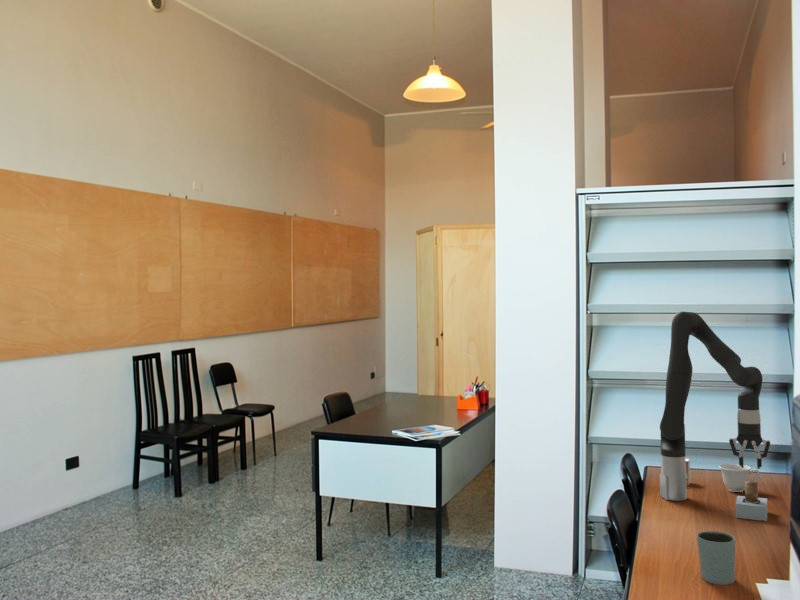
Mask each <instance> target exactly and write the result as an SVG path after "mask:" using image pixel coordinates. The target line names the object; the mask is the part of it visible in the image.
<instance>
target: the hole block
mask: <svg viewBox="0 0 800 600" xmlns="http://www.w3.org/2000/svg"><path fill="white" fill-rule="evenodd" d="M768 506H769V505H768V497H767V498H766V497H758V504H755V503H745V495H737V496H736V499H735V518H736V519H744V520H755V521H762V520H764V521H763V522H767V521H768V515H767V514H768V513H769V512H768V511H769V510H768Z"/></svg>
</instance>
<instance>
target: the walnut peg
mask: <svg viewBox="0 0 800 600" xmlns="http://www.w3.org/2000/svg"><path fill="white" fill-rule="evenodd" d="M758 492H759V489H758V482H757V481H756V480H753V481H749V480H748V481H745V488H744V496H745V503H755V504H758V498H759V493H758Z"/></svg>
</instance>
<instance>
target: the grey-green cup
mask: <svg viewBox="0 0 800 600" xmlns="http://www.w3.org/2000/svg"><path fill="white" fill-rule="evenodd" d="M696 541H697V546H698V555H699V557H698V558H699V565H700V573H701V574H700V575H701V578H702V580H704V581H705V582H708V583H710V584H713V585H720V586H721V585H722V586H724V585H725V586H726V585H732V584H734V583H735V579H736V577H735V575H736V573H735V566H736V565H735V564H736V562H735V559H736V558H735V557H736V537H735V536H734V535H732V534H730V533H726V532H723V531H712V530H710V531H709V530H708V531H701V532H698V533H697V534H696Z"/></svg>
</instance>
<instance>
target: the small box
mask: <svg viewBox="0 0 800 600" xmlns="http://www.w3.org/2000/svg"><path fill="white" fill-rule="evenodd" d="M685 459H686V486H688V485H689V486H690V484H691V469H690V467H691V465H690V463H691V462H690V461H691V459H690V458H685Z"/></svg>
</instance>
